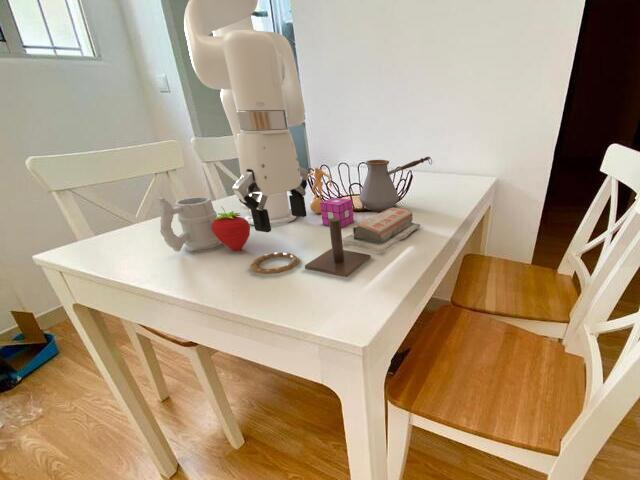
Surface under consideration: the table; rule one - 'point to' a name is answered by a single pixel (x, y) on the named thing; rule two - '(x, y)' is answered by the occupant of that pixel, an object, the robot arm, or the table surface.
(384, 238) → the packaged product
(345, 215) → the puzzle toy
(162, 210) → the mug
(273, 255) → the ring
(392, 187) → the coffee pot
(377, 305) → the table surface
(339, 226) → the brown peg stand
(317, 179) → the figurine
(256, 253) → the table surface
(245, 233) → the strawberry
